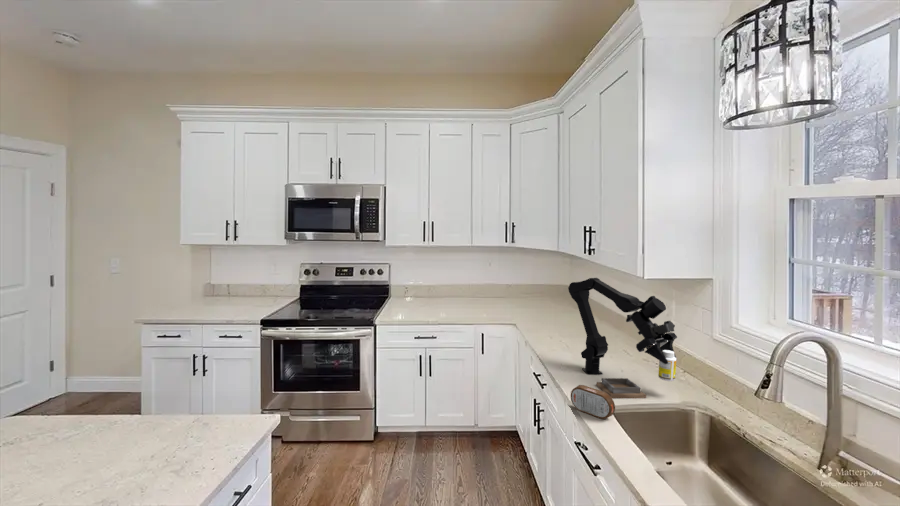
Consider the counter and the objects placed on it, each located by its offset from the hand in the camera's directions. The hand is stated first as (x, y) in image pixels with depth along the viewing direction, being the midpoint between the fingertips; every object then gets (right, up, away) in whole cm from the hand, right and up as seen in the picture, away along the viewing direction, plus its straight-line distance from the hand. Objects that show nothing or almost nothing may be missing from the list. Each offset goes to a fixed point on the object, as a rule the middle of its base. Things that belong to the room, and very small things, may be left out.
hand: (671, 362), depth 159 cm
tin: (-33, -14, -14) cm, 39 cm away
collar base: (-16, -13, +7) cm, 21 cm away
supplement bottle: (-1, -7, +2) cm, 7 cm away
